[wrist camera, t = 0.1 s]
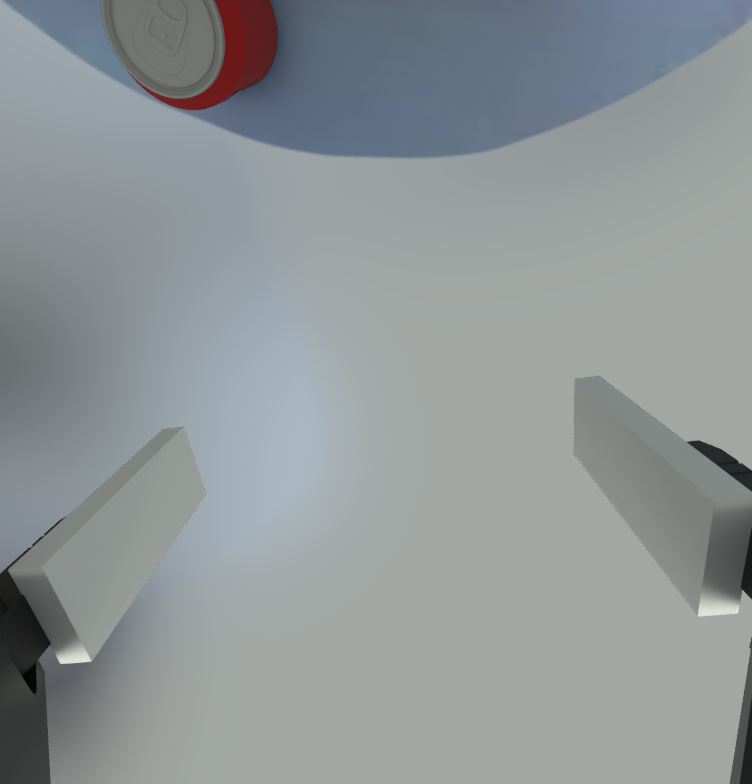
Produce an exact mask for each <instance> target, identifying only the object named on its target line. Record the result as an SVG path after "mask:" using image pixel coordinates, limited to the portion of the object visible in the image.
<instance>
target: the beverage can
mask: <svg viewBox="0 0 752 784" xmlns="http://www.w3.org/2000/svg"><path fill="white" fill-rule="evenodd" d="M100 2H101V15H102V20H103V25H104V28H105V31H106V34H107V37H108V40H109V42H110V44H111V46H112V48H113V50H114V52H115V54H116V56H117V57H118V59H119V60H120V62H121V63H122V64H123V66H124V67H125V68H126V70H127V71H128V72H129V74H130V75H131V76H132V77H133V78H134V79H135V81H136V82H137V83H138V84H139V85H140V86H141V87H143V88H144V89H145V90H146V91H147V92H149V93H150V94H151V95H153V96H154V97H155V98H157V99H159V100H160V101H162V102H164V103H166V104H168V105H171V106H174V107H177V108H181V109H186V110H201V109H206V108H209V107H212V106H214V105H217V104H219V103H221V102H223V101H225V100H227V99H229V98H231V97H233V96H235V95H237V94H239V93H241V92H242V91H244V90H246V89H248V88H249V87H251V86H253V85H254V84H256V83H257V82H259V81H260V80H261V79H262V78H263V77H264V76H265V75H266V73H267V72H268V70H269V68H270V67H271V64H272V62H273V59H274V56H275V52H276V45H277V28H276V21H275V17H274V13H273V9H272V7H271V4H270V2H269V0H100Z"/></svg>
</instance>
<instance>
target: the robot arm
mask: <svg viewBox="0 0 752 784" xmlns="http://www.w3.org/2000/svg"><path fill="white" fill-rule="evenodd" d="M574 391H575V392H574V394H575V397H574V455H575V457H576V458H577V459H578V461H579V462H580V463H581V464H582V466H583V467H584V468H585V470H586V471H587V472H588V474H589V475H590V476H591V478H592V479H593V480H594V481H595V483H596V484H597V485H598V487H599V488H600V489H601V491H602V492H603V493H604V494H605V496H606V497H607V498H608V500H609V501H610V502H611V504H612V505H613V506H614V508H615V509H616V510H617V512H618V513H619V514H620V515H621V517H622V518H623V519H624V521H625V522H626V523H627V525H628V526H629V527H630V529H631V530H632V531H633V532H634V534H635V535H636V536H637V538H638V539H639V540H640V542H641V543H642V544H643V546H644V547H645V548H646V550H647V551H648V552H649V553H650V555H651V556H652V557H653V559H654V560H655V561H656V563H657V564H658V565H659V566H660V568H661V569H662V570H663V572H664V573H665V574H666V575H667V577H668V578H669V580H670V581H671V582H672V584H673V585H674V586H675V587H676V589H677V590H678V591H679V593H680V594H681V595H682V596H683V598H684V599H685V601H686V602H687V603H688V604H689V605H690V607H691V608H692V610H693V611H694V612H695V613H696V615H697V616H708V615H709V616H710V615H723V614H736V613H738V610H739V604H740V599H741V594H742V590H744V592H745V593H746V594H747V595H748V596H749V597H750V598H751V599H752V470H750V469H749V468H747V467H746V466H745V465H743V464H742V463H741V464H739V463H738V461H737V460H736V459H735V458H733V457H732V456H730V455H729V454H727V453H726V452H724V451H723V450H722V449H719V448H716V447H714V446H712V445H709V444H707V443H704V442H701V441H691V442H685V441H684V440H683V439H682V438H681V437H679V436H678V435H677V434H675V433H674V432H673V431H671V430H670V429H669V428H667V427H666V426H665V425H663V424H662V423H661V422H659V421H658V420H657V419H656V418H654V417H653V416H652V415H650V414H649V413H648V412H646V411H645V410H644V409H642V408H641V407H640V406H639V405H637V404H636V403H635V402H633V401H632V400H631V399H629V398H628V397H627V396H625V395H624V394H623V393H621V392H620V391H619V390H618V389H616V388H615V387H614V386H612V385H611V384H610V383H608V382H607V381H606V380H604V379H603V378H602V377H600V376H593V377H585V378H578V379H577V378H576V379H575V388H574ZM205 495H206V491H205V488H204V485H203V482H202V479H201V476H200V473H199V470H198V467H197V464H196V461H195V458H194V455H193V452H192V449H191V447H190V443H189V440H188V437H187V434H186V431H185V428H184V427H177V428H167V429H162V430H161V431H160V432H159V433H158V434H157V435H156V436H155V437H154V438H153V439H152V440H150V441H149V442H148V443H147V444H146V445H145V446H144V447H143V448H141V450H139V451H138V452H137V453H136V454H135V455H134V456H133V457H132V458H130V460H128V461H127V462H126V463H125V464H124V465H123V466H122V467H121V468H119V469H118V470H117V471H116V472H115V473H114V474H113V475H112V476H111V477H110V478H108V479H107V480H106V481H105V482H104V483H103V484H102V485H101V486H100V487H99V488H97V489H96V490H95V491H94V492H93V493H92V494H91V495H90V496H89V497H88V498H86V499H85V500H84V501H83V502H82V503H81V504H80V505H79V506H78V507H76V508H75V509H74V510H73V511H72V512H71V513H70V514H69V515H67V516H66V517H64V518H63V519H61V520H60V521H58V522H57V523H56V524H55V525H54V526H53V527H52V528H50V529H49V530H48V531H47V532H46V533H45V535H44V536H42V537H40V538H39V539H38V540H37V541H36V542H35V543H34V544H33V545H32V547H31V548H28V549H27V550H26V551H25V552H24V553H23V554H22V555H20V557H18V558H17V559H16V560H15V561H14V562H13V563H12V564H10V565H9V566H8V567H7V568H6V569H5V570H4V571H3V572H2V573H1V574H0V784H50V766H49V748H48V729H47V709H46V691H45V675H44V674H45V672H44V670H43V668H42V666H41V664H40V662H39V661H38V659H39V658H40V656H41V655H42V654H43V653H44V651H45V650H46V649H47V648H48V646H49V645H50V646H51V648H52V649H53V651H54V653H55V655H56V656H57V658H58V660H59V662H60V664H65V663H78V662H91V661H92V660H93V659H94V657H95V656H96V654H97V653H98V651H99V650H100V649H101V647H102V646H103V644H104V643H105V641H106V640H107V638H108V637H109V635H110V634H111V633H112V631H113V629H114V628H115V627H116V625H117V624H118V622H119V621H120V619H121V618H122V616H123V615H124V613H125V612H126V610H127V609H128V608H129V606H130V605H131V603H132V602H133V600H134V599H135V597H136V596H137V594H138V593H139V592H140V590H141V589H142V587H143V586H144V584H145V583H146V581H147V580H148V578H149V577H150V576H151V574H152V573H153V571H154V570H155V568H156V567H157V565H158V564H159V562H160V561H161V559H162V558H163V556H164V555H165V554H166V552H167V550H168V549H169V548H170V546H171V545H172V543H173V542H174V540H175V539H176V537H177V536H178V535H179V533H180V532H181V530H182V529H183V527H184V526H185V524H186V523H187V521H188V520H189V518H190V517H191V516H192V514H193V512H194V511H195V510H196V508H197V507H198V505H199V504H200V502H201V501H202V499H203V498H204V497H205ZM750 648H751V652H750V658H749V664H748V671H747V678H746V684H745V690H744V696H743V703H742V709H741V715H740V722H739V728H738V734H737V741H736V747H735V754H734V760H733V766H732V773H731V779H730V784H752V639H751V643H750Z"/></svg>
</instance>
